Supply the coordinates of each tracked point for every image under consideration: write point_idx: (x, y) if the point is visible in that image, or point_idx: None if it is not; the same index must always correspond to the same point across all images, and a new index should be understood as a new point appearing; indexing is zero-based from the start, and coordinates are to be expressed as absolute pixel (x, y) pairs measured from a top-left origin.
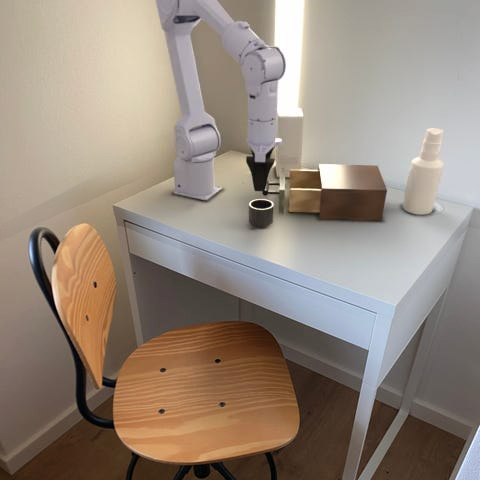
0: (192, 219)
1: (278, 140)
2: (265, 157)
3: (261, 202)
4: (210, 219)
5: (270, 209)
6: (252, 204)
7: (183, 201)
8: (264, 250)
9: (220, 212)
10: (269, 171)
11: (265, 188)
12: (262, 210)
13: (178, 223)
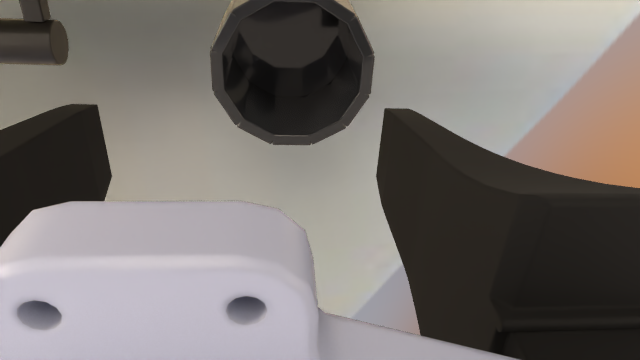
0: None
1: (183, 335)
2: (536, 327)
3: (225, 66)
4: None
5: (350, 9)
6: (260, 119)
7: None
8: (563, 12)
9: None
10: (547, 173)
11: (16, 47)
12: (373, 63)
13: None
